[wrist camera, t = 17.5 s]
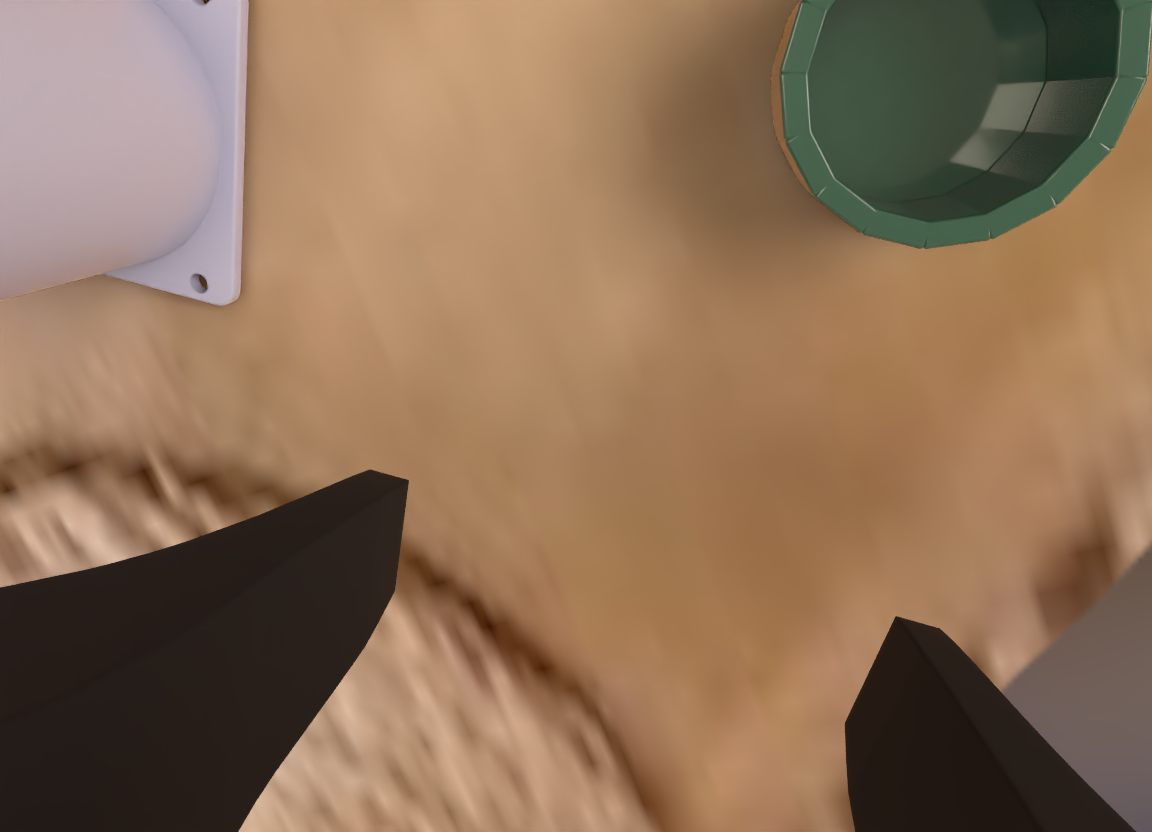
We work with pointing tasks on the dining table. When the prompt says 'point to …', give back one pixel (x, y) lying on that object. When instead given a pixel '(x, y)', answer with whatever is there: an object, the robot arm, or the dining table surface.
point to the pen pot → (954, 107)
